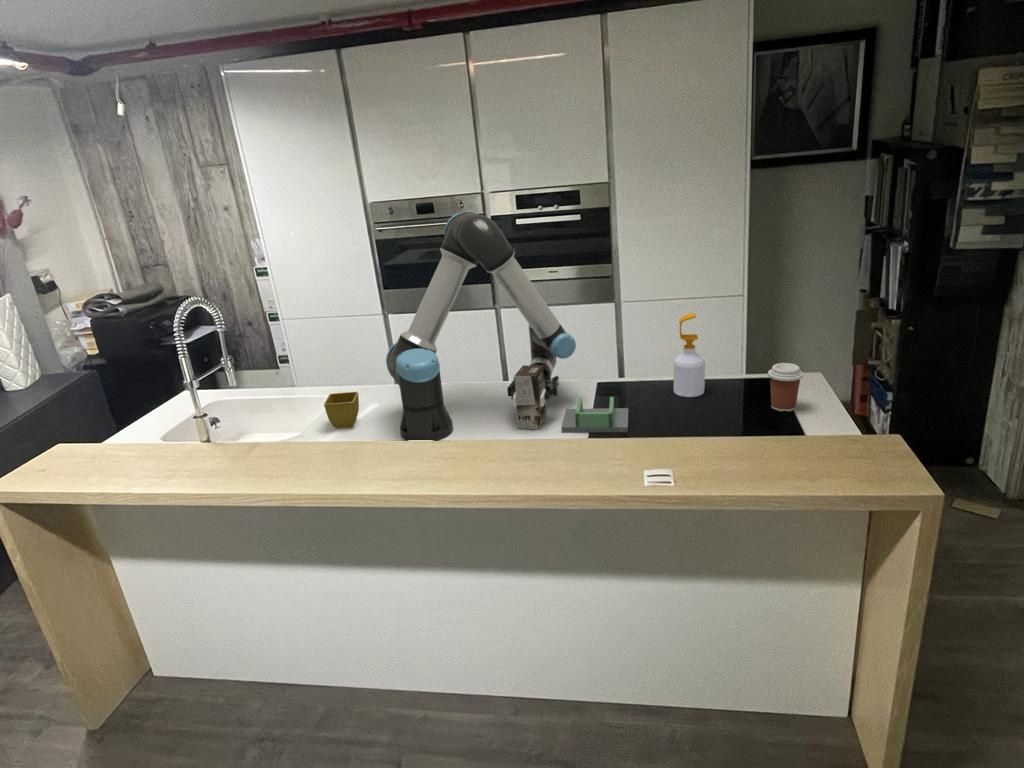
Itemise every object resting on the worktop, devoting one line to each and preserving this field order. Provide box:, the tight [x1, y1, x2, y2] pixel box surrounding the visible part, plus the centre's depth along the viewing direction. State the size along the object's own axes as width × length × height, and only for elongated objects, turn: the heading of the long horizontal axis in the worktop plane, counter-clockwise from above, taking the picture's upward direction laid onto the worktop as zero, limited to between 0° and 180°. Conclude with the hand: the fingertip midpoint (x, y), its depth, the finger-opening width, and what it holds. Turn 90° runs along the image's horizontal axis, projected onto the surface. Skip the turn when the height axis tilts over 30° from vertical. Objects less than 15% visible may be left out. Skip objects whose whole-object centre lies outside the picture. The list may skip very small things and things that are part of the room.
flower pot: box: [323, 391, 360, 429], centre depth 203 cm, size 9×9×9 cm
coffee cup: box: [767, 362, 804, 412], centre depth 188 cm, size 9×9×12 cm
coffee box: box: [514, 364, 548, 430], centre depth 191 cm, size 9×6×16 cm
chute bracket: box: [561, 396, 629, 433], centre depth 190 cm, size 18×13×6 cm
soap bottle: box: [673, 312, 706, 398], centre depth 202 cm, size 9×9×25 cm
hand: (528, 402), depth 187 cm, fingers closed on coffee box, 7 cm apart
